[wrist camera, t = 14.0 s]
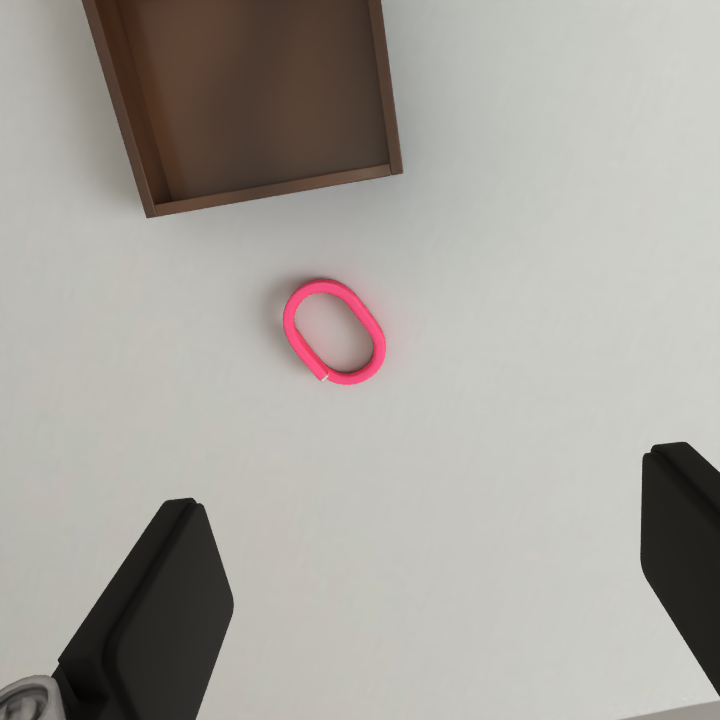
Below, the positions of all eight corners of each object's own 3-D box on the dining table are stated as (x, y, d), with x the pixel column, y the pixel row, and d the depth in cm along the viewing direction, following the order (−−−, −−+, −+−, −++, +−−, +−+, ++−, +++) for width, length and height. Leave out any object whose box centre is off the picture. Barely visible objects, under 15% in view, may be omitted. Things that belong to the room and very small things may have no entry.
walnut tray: (368, -81, 29) (366, -111, 26) (402, 172, 33) (403, 173, 30) (101, -20, 30) (69, -41, 27) (167, 214, 35) (146, 218, 32)
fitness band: (268, 310, 37) (263, 315, 35) (332, 261, 35) (330, 265, 34) (338, 394, 39) (336, 403, 37) (401, 351, 37) (402, 359, 36)
